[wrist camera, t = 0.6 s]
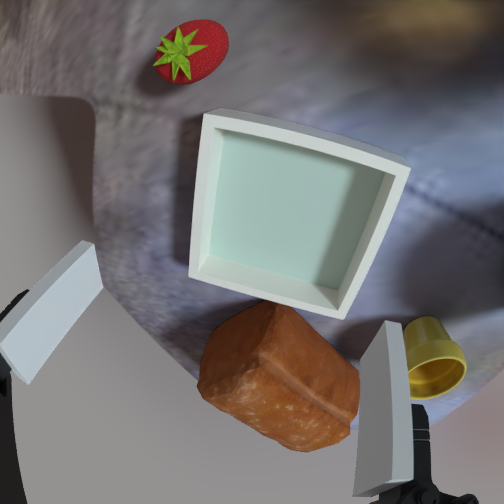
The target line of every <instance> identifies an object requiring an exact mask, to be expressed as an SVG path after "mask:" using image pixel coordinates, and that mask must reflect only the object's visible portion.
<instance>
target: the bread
mask: <svg viewBox="0 0 504 504" xmlns="http://www.w3.org/2000/svg"><path fill="white" fill-rule="evenodd" d="M197 388H198V390H199V392H200V394H201V396H202V398H203V399H204V400H206V401H207V402H209V403H210V404H212V405H214V406H215V407H216V408H217V409H219V410H220V411H223V412H225V413H227V414H230V415H231V416H233V417H234V418H236V419H237V420H239V421H241V422H242V423H244V424H246V425H248V426H250V427H252V428H253V429H255V430H256V431H258V432H259V433H261V434H262V435H264V436H266V437H268V438H271V439H273V440H276V441H277V442H279V443H280V444H281V445H282V446H284V447H286V448H288V449H290V450H293V451H300V452H310V451H314V450H317V449H321V448H324V447H327V446H330V445H334V444H337V443H339V442H340V441H342V440H343V439H344V438H346V437H347V436H348V435H350V423H351V422H352V421H353V419H354V418H355V416H356V415H357V412H358V406H359V399H360V379H359V373H358V370H357V369H356V368H355V367H354V366H353V365H352V364H350V363H349V362H348V361H347V360H346V359H345V358H344V357H343V356H342V355H341V354H340V353H339V352H338V351H337V350H336V349H335V348H334V347H333V346H332V345H331V344H330V343H329V342H328V341H327V340H325V339H324V338H323V337H322V336H321V335H320V334H318V333H317V332H316V331H315V330H314V329H313V328H312V327H311V326H310V325H309V324H308V323H307V322H306V321H305V319H304V318H303V317H302V316H301V315H299V314H298V313H297V312H296V311H295V310H294V309H293V308H292V307H290V306H288V305H284V304H280V303H277V302H273V301H269V300H265V301H263V302H261V303H258V304H256V305H254V306H252V307H250V308H247V309H245V310H244V311H242V312H240V313H239V314H237V315H235V316H233V317H232V318H230V319H228V320H226V321H225V322H224V323H223V324H221V325H220V326H219V327H218V328H216V329H215V330H214V331H213V332H211V335H210V337H209V340H208V342H207V345H206V348H205V350H204V353H203V356H202V358H201V363H200V375H199V381H198V384H197Z"/></svg>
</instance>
